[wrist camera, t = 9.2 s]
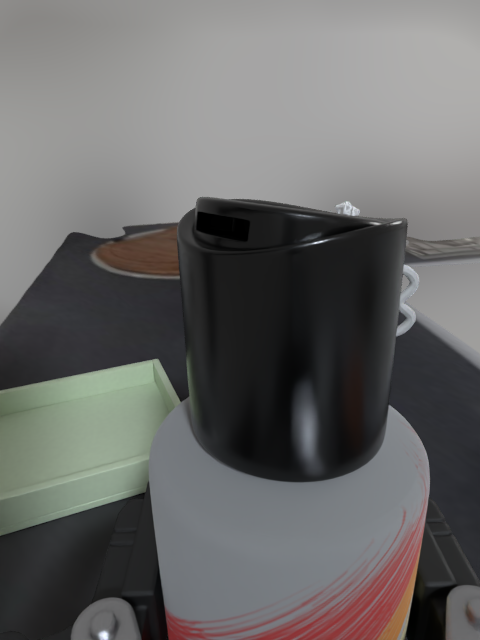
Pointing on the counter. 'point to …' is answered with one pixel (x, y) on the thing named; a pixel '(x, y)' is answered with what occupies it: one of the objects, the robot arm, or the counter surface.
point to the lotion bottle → (288, 431)
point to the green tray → (78, 441)
